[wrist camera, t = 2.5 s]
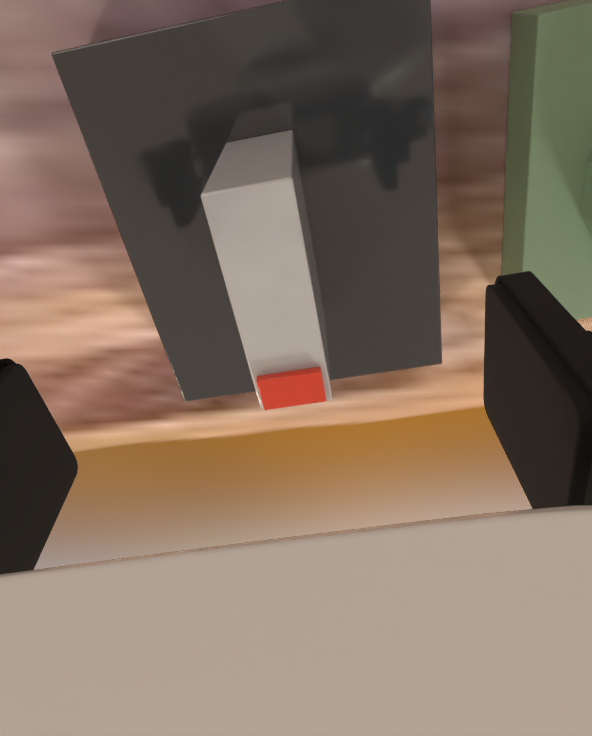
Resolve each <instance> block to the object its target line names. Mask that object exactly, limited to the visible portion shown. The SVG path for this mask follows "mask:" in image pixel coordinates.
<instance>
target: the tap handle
mask: <svg viewBox="0 0 592 736" xmlns="http://www.w3.org/2000/svg"><path fill="white" fill-rule="evenodd" d="M201 200H202V204H203V207H204V211H205V214H206V218H207V221H208V225H209V228H210V232H211V235H212V239H213V242H214V246H215V249H216V253H217V257H218V260H219V264H220V267H221V271H222V274H223V278H224V281H225V285H226V288H227V292H228V295H229V299H230V302H231V306H232V310H233V313H234V317H235V320H236V324H237V327H238V331H239V334H240V338H241V341H242V345H243V348H244V352H245V356H246V359H247V363H248V366H249V370H250V373H251V377H252V380H253V384H254V387H255V391H256V394H257V398H258V401H259V405H260V408H261V410H268V409H275V408H282V407H289V406H296V405H303V404H310V403H317V402H324V401H329V400H332V388H331V377H330V367H329V356H328V346H327V335H326V325H325V314H324V307H323V301H322V296H321V290H320V284H319V278H318V272H317V267H316V261H315V255H314V249H313V243H312V238H311V232H310V226H309V220H308V214H307V209H306V203H305V197H304V191H303V185H302V180H301V174H300V168H299V162H298V157H297V151H296V145H295V139H294V133H293V131H292V130H289V131H284V132H279V133H274V134H269V135H263V136H258V137H253V138H248V139H243V140H238V141H233V142H228V143H226V144H225V146H224V148H223V150H222V152H221V154H220V156H219V158H218V160H217V162H216V164H215V166H214V168H213V170H212V172H211V174H210V177H209V179H208V181H207V183H206V185H205V187H204V189H203V191H202V193H201Z"/></svg>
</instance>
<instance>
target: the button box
mask: <svg viewBox="0 0 592 736" xmlns="http://www.w3.org/2000/svg"><path fill="white" fill-rule="evenodd" d="M525 271H531V272H532V273H533V274H534V275H535V276H536V277H537V278H538V279H539V280H540V281H541V283H542V284H543V285H544V286H545V287H546V288H547V289H548V290H549V291H550V292H551V293H552V295H553V296H554V297H555V298H556V299H557V300H558V301H559V302H560V303H561V304H562V305H563V307H564V308H565V309H566V310H567V311H568V312H569V313H570V314H571V315H572V316H573V317H574V318H575V320H577V319H583V318H590V317H592V0H567V1H562V2H557V3H552V4H548V5H543V6H538V7H533V8H529V9H524V10H519V11H514V12H513V13H512V22H511V47H510V71H509V96H508V121H507V146H506V171H505V196H504V221H503V246H502V271H501V276H502V275H508V274H513V273H519V272H525Z"/></svg>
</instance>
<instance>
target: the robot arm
mask: <svg viewBox="0 0 592 736" xmlns="http://www.w3.org/2000/svg"><path fill="white" fill-rule="evenodd" d="M484 405H485V410H486V413H487V416H488V418H489V420H490V422H491V424H492V426H493V428H494V430H495V432H496V434H497V436H498V438H499V440H500V443H501V445H502V447H503V449H504V451H505V453H506V455H507V457H508V459H509V461H510V463H511V465H512V467H513V469H514V471H515V473H516V475H517V477H518V479H519V482H520V484H521V486H522V488H523V490H524V492H525V494H526V496H527V498H528V500H529V502H530V504H531V506H532V508H533V509H529V510H518V511H506V512H496V513H484V514H476V515H469V516H461V517H452V518H444V519H435V520H426V521H417V522H409V523H401V524H393V525H384V526H377V527H368V528H361V529H352V530H343V531H336V532H327V533H319V534H311V535H303V536H294V537H286V538H278V539H270V540H263V541H255V542H246V543H238V544H230V545H223V546H214V547H207V548H199V549H191V550H183V551H175V552H168V553H160V554H152V555H144V556H137V557H129V558H121V559H113V560H106V561H98V562H91V563H82V564H75V565H67V566H60V567H52V568H45V569H37V570H34V567H35V565H36V563H37V561H38V559H39V556H40V554H41V552H42V550H43V547H44V545H45V543H46V541H47V539H48V537H49V534H50V532H51V530H52V528H53V525H54V523H55V521H56V519H57V517H58V515H59V512H60V510H61V508H62V506H63V503H64V501H65V499H66V497H67V495H68V493H69V490H70V488H71V486H72V484H73V481H74V479H75V477H76V474H77V469H78V466H77V460H76V458H75V456H74V454H73V452H72V450H71V449H70V447H69V445H68V443H67V442H66V440H65V438H64V436H63V434H62V433H61V431H60V429H59V427H58V426H57V424H56V422H55V420H54V419H53V417H52V415H51V413H50V412H49V410H48V408H47V406H46V405H45V403H44V401H43V399H42V398H41V396H40V394H39V392H38V390H37V389H36V387H35V385H34V383H33V382H32V380H31V378H30V376H29V375H28V373H27V371H26V370H25V368H24V367H23V366H22V365H20V364H16V363H15V362H14V361H12V360H11V359H1V360H0V736H592V332H591V331H586V330H585V329H584V328H583V327H582V326H581V325H580V324H579V323H578V322H577V321H576V320H575V318H574V317H573V316H572V315H571V314H570V313H569V312H568V311H567V310H566V309H565V308H564V307H563V305H562V304H561V303H560V302H559V301H558V300H557V299H556V298H555V297H554V296H553V295H552V293H551V292H550V291H549V290H548V289H547V288H546V287H545V286H544V285H543V284H542V283H541V281H540V280H539V279H538V278H537V277H536V276H535V275H534V274H533V273H532V272H531V271H525V272H519V273H513V274H508V275H502V276H498V277H497V278H496V282H495V284H494V285H488V286H487V288H486V301H485V351H484Z"/></svg>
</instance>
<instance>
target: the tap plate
mask: <svg viewBox="0 0 592 736" xmlns="http://www.w3.org/2000/svg"><path fill="white" fill-rule="evenodd" d="M52 57H53V59H54V62H55V65H56V67H57V70H58V73H59V75H60V78H61V80H62V83H63V86H64V88H65V91H66V93H67V96H68V99H69V101H70V104H71V106H72V109H73V112H74V114H75V117H76V119H77V122H78V125H79V127H80V130H81V133H82V135H83V138H84V140H85V143H86V146H87V148H88V151H89V153H90V156H91V159H92V161H93V164H94V166H95V169H96V172H97V174H98V177H99V179H100V182H101V185H102V187H103V190H104V193H105V195H106V198H107V200H108V203H109V206H110V208H111V211H112V213H113V216H114V219H115V221H116V224H117V226H118V229H119V232H120V234H121V237H122V239H123V242H124V245H125V247H126V250H127V253H128V255H129V258H130V260H131V263H132V266H133V268H134V271H135V273H136V276H137V279H138V281H139V284H140V286H141V289H142V292H143V294H144V297H145V299H146V302H147V305H148V307H149V310H150V313H151V315H152V318H153V320H154V323H155V326H156V328H157V331H158V333H159V336H160V339H161V341H162V344H163V346H164V349H165V352H166V354H167V357H168V359H169V362H170V365H171V367H172V370H173V373H174V375H175V378H176V380H177V383H178V386H179V388H180V391H181V393H182V396H183V399H184V401H192V400H199V399H206V398H213V397H219V396H226V395H233V394H240V393H246V392H253V391H255V387H254V384H253V380H252V377H251V373H250V370H249V366H248V363H247V359H246V356H245V352H244V348H243V345H242V341H241V338H240V334H239V331H238V327H237V324H236V320H235V317H234V313H233V310H232V306H231V302H230V299H229V295H228V292H227V288H226V285H225V281H224V278H223V274H222V271H221V267H220V264H219V260H218V257H217V253H216V249H215V246H214V242H213V239H212V235H211V232H210V228H209V225H208V221H207V218H206V214H205V211H204V207H203V204H202V200H201V193H202V191H203V189H204V187H205V185H206V183H207V181H208V179H209V177H210V174H211V172H212V170H213V168H214V166H215V164H216V162H217V160H218V158H219V156H220V154H221V152H222V150H223V148H224V146H225V144H226V143H228V142H233V141H238V140H243V139H248V138H253V137H258V136H263V135H269V134H274V133H279V132H284V131H289V130H292V131H293V133H294V139H295V145H296V151H297V157H298V162H299V168H300V174H301V180H302V185H303V191H304V197H305V203H306V209H307V214H308V220H309V226H310V232H311V238H312V243H313V249H314V255H315V261H316V267H317V272H318V278H319V284H320V290H321V296H322V301H323V307H324V314H325V325H326V335H327V346H328V356H329V367H330V377H331V380H334V379H341V378H348V377H354V376H361V375H368V374H375V373H381V372H388V371H395V370H402V369H408V368H415V367H422V366H429V365H435V364H441V363H442V344H441V312H440V281H439V250H438V218H437V187H436V155H435V124H434V92H433V61H432V29H431V0H286V1H281V2H277V3H272V4H268V5H263V6H259V7H254V8H250V9H245V10H241V11H236V12H232V13H227V14H223V15H218V16H214V17H209V18H205V19H200V20H196V21H191V22H187V23H182V24H178V25H173V26H169V27H164V28H160V29H155V30H151V31H146V32H142V33H137V34H133V35H128V36H124V37H119V38H115V39H110V40H106V41H101V42H97V43H92V44H88V45H83V46H79V47H74V48H70V49H65V50H61V51H56V52H53V53H52Z"/></svg>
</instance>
